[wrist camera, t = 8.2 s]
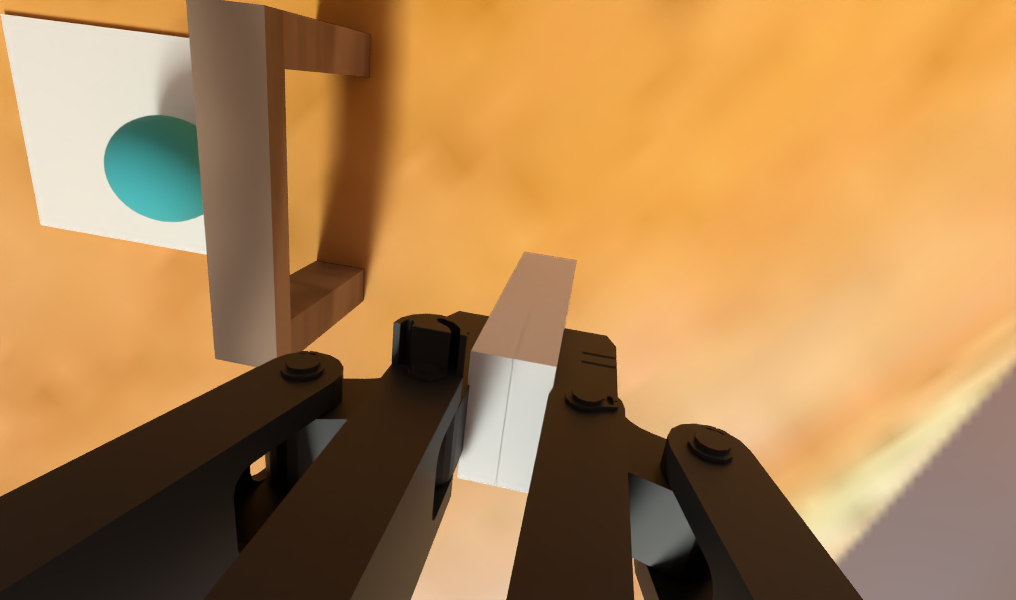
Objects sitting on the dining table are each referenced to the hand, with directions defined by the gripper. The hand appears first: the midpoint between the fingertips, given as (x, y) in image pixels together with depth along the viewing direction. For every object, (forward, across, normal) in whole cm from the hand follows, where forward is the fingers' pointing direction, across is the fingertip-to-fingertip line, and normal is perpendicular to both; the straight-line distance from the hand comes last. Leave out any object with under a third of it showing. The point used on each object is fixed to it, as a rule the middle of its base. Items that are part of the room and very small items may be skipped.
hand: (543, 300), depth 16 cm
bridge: (+14, -13, 0) cm, 19 cm away
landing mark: (+14, -27, 0) cm, 30 cm away
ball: (+11, -21, -1) cm, 24 cm away
